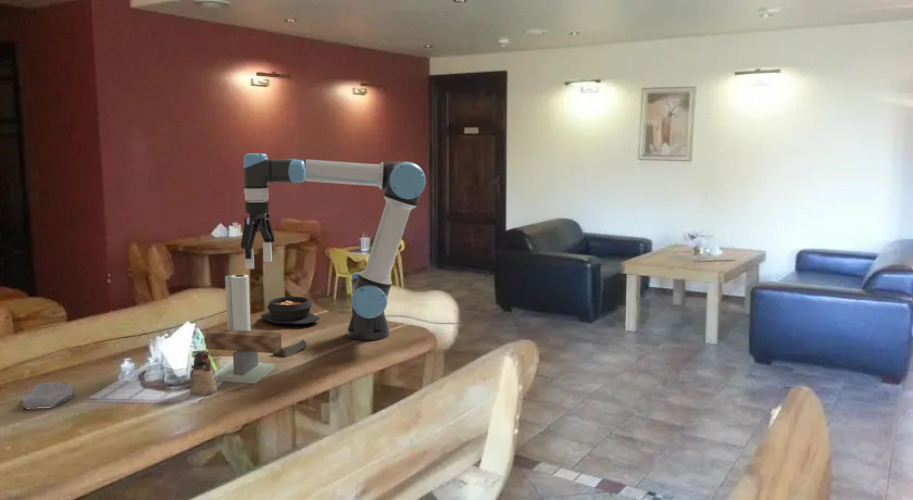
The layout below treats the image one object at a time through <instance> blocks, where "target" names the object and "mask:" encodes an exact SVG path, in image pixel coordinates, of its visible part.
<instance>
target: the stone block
mask: <svg viewBox="0 0 913 500" xmlns="http://www.w3.org/2000/svg"><path fill="white" fill-rule="evenodd" d="M73 393H74V388H73V385H71V384H68V383H62V382H58V381H56V382H55V381H54V382H52V381H48V382H42V383H38V384H37V385H35V386H34V387H33V388H32V389H31V390H30V392H29V393H28V394H24V395H23V396H22V399H21V401H22V402H21V403H22V404H21V405H22V406H21V407H22V408H23V409H24V408H37V407H53V406H55V405H57V404H59V403H61V402H63V401H65V400H67V399H68V398H70V397H71V398H72V397H73ZM71 398H70V399H71ZM68 400H69V399H68ZM68 400H67V401H68ZM65 402H66V401H65ZM63 403H64V402H63ZM61 404H62V403H61ZM59 405H60V404H59ZM57 406H58V405H57ZM55 407H56V406H55Z"/></svg>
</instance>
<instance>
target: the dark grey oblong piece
mask: <svg viewBox="0 0 913 500" xmlns="http://www.w3.org/2000/svg"><path fill="white" fill-rule="evenodd" d="M307 345H308V343H307V342H306V340H304V339H302V340H300V341H299V342H297V343H295V344H292V345H291V344H290V345H288V346H285V347H281V348H282V349H281V350H279V351H278V352H276V353H272V355H273V356H275V357H277V356H281V357H282V358H287V357H290V356H292V355H294V354H297V353H298V352H300V351H301V350H305V349H306V348H307Z"/></svg>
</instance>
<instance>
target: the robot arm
mask: <svg viewBox="0 0 913 500" xmlns="http://www.w3.org/2000/svg"><path fill="white" fill-rule="evenodd" d="M242 169H243V185H244V190H243V194H244V200H245V202H244V211H245V213H246V214H248V215H249V216H248V217H245V218H244V225H243V232H242V236H241V243H240V248H241V249H242V250H244V262H245V263H244V265H245V266H244V267H245V269H246V270H254V269H255V255H254V253H255V252H254V248H253V246H254V242H255V239H256V236H257V232H260V235H261V237H262V239H263V242H262V253H263V254H262V255H263V257H262V258H263V262H268V263H271V262H273V257H272V255H273V254H272V253H273V251H272V247H273V246H272V243H274V242H275V235H274V231H273V226H272V224H271V223H272V222H271V218H270V213H269V212H270V206H269V205H270V204H269V198H270V197H269V196H270V195H269V183H273V184H275V183H277V184H279V183H282V184H287V183H289V184H297V183H304V182H311V183H313V182H314V183H325V184H326V183H328V184H341V185H354V186H355V185H356V186H369V187H371V186H372V187H378V188H379V189H380V190H384V192H383V193H384V194H383V199H384V200H385V205H384V209H383V212H382V215H381V218H380V220H379V224H378V228H377V230H376V234H375V236H374V240H373V243H372V247H371V250H370V251H369V256H368V259H367V262H366V265H365V268H364V269H363V270H362V271H359V272H358V271H357V272H354V273H352V274H351V279H350V282H351V283H350V284H351V300H350V302H351V303H350V304H351V316H350V319H349V323H348V326H347V330H346V331H347V333H346V334H347V337H348V338H349V339H354V340H358V341H359V340H361V341H375V340H381V339H384V338H387V337H389V336H390V326H389V324H388V321H387V317H386V315H385V310H386V308H387V305H388V296H389V294H390V291H391V287H392V284H393V281H392V280H391V278H390V276H391V272H392V270H393V267H394V264H395V260H396V257H397V255H398V251H399V248H400V244H401V241H402V238H403V235H404V232H405V229H406V225H407V223H408V220H409V217H410V213H411V211H412V210H413V209H415V208H417V206H418V203H419V201H420V197H421V195H422V193H423V191H424V190H425V187H426V183H427V181H426V180H427V179H426V174H425V172H424V170H423V169H422V168H421V167H420V166H419V165H418V164H416V163H414V162H411V161H408V160H407V161H406V160H403V161H389V162H388V161H381V162H380V163H379V164H376V163H362V162H350V161H349V162H346V161H335V160H334V161H333V160H320V159H319V160H318V159H307V158H306V159H302V158H295V157H287V158H284V159H270V158H268V155H267V154H266V153H259V152H258V153H255V152H254V153H253V152H252V153H246V154H244V156H243V168H242Z"/></svg>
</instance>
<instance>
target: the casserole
mask: <svg viewBox="0 0 913 500" xmlns="http://www.w3.org/2000/svg"><path fill="white" fill-rule="evenodd" d="M312 306H313V304H312V303H311V300H310V299H309V298H306V297H303V296H281V297H276V298H273V299H271V300H270V301H269V303H268V305H267V306H266V307H267V310H268V311H267V312H264V313H261V314H260V317H261V318H262V319H265V321H267V322H270V323H273V324H277V325H281V326H295V325H307V324H311V323H314V322H317V321H319V320H320V319H321V317H320V316H317V315H315V314H314V313H312V312H311V308H312Z"/></svg>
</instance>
